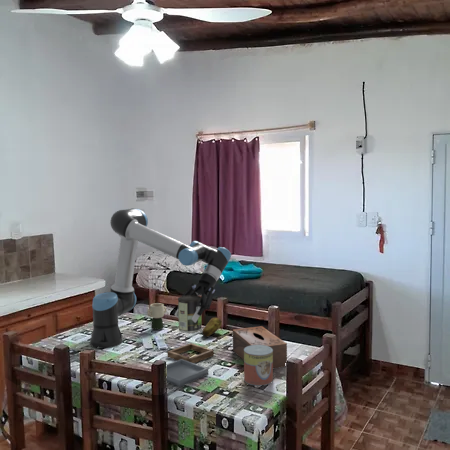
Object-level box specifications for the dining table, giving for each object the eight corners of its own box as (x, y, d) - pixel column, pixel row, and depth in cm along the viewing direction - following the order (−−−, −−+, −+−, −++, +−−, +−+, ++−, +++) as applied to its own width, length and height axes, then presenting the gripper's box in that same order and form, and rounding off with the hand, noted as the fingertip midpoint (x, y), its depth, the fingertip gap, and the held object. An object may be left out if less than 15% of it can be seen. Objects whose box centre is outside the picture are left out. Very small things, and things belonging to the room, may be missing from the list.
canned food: (252, 388, 176) (251, 356, 175) (239, 376, 187) (238, 347, 186) (278, 382, 181) (278, 352, 180) (264, 372, 191) (264, 343, 190)
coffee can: (204, 326, 212) (203, 295, 211) (198, 333, 202) (198, 301, 201) (182, 325, 214) (181, 294, 213) (175, 332, 204) (174, 300, 203)
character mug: (163, 325, 255) (162, 301, 254) (169, 328, 249) (169, 304, 248) (144, 329, 249) (144, 305, 248) (151, 332, 243) (150, 307, 242)
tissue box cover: (232, 351, 216) (232, 329, 215) (261, 347, 221) (261, 326, 220) (254, 371, 192) (254, 347, 191) (286, 367, 197) (286, 343, 196)
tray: (152, 376, 188) (152, 370, 188) (181, 364, 200) (181, 358, 199) (179, 387, 178) (179, 380, 177) (208, 374, 189) (208, 368, 189)
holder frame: (167, 356, 209) (167, 351, 209) (191, 348, 219) (191, 343, 219) (190, 365, 199) (190, 359, 199) (213, 355, 210) (213, 350, 210)
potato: (196, 335, 238) (196, 319, 238) (216, 330, 246) (216, 315, 246) (206, 339, 232) (205, 323, 231) (226, 333, 240) (226, 318, 239)
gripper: (232, 285, 210) (207, 328, 200) (196, 278, 225) (172, 318, 215) (224, 275, 206) (198, 318, 196) (188, 269, 221) (163, 309, 211)
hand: (184, 318), depth 205 cm, fingers closed on coffee can, 10 cm apart
